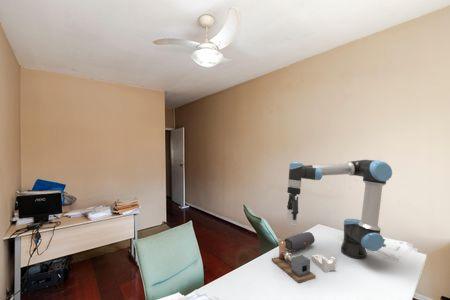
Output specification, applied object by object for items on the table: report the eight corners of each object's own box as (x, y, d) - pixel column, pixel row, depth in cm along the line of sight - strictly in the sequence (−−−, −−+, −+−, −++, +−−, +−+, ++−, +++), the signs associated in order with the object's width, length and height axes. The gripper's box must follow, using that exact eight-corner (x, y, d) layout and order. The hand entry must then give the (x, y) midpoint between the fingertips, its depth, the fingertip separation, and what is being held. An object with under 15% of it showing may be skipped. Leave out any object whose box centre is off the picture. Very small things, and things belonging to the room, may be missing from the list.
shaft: (277, 257, 133) (277, 241, 133) (283, 255, 135) (283, 239, 135) (295, 271, 118) (296, 253, 118) (302, 270, 120) (302, 251, 120)
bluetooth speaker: (293, 255, 140) (293, 240, 139) (283, 249, 148) (283, 235, 147) (315, 247, 151) (315, 233, 151) (304, 242, 159) (304, 229, 159)
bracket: (335, 271, 122) (335, 258, 122) (324, 272, 121) (324, 259, 121) (321, 259, 135) (322, 248, 135) (311, 260, 134) (311, 248, 134)
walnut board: (271, 260, 133) (271, 258, 133) (286, 257, 138) (286, 254, 138) (298, 283, 111) (298, 280, 111) (315, 277, 116) (315, 275, 116)
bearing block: (291, 271, 119) (291, 257, 119) (302, 268, 122) (302, 254, 122) (298, 277, 114) (299, 263, 113) (310, 274, 117) (310, 259, 117)
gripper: (284, 185, 141) (281, 217, 139) (292, 187, 116) (288, 226, 114) (295, 186, 140) (293, 219, 138) (306, 189, 115) (302, 229, 113)
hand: (291, 222), depth 126 cm, fingers open, 13 cm apart
